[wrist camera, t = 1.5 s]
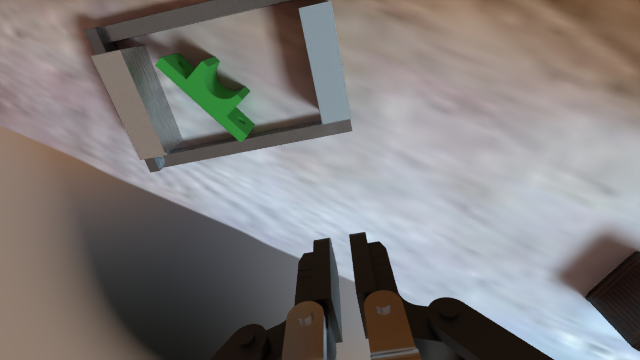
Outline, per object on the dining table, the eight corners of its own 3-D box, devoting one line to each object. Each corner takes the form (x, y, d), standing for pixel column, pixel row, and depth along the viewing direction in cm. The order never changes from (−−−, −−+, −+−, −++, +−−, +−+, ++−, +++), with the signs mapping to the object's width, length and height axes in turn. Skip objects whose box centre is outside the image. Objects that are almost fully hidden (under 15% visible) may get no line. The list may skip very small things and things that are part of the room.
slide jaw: (301, 9, 35) (298, 8, 30) (330, 2, 34) (331, 0, 30) (322, 112, 39) (322, 124, 35) (347, 107, 39) (351, 118, 35)
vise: (98, 29, 36) (66, 31, 31) (325, -25, 33) (325, -32, 29) (159, 164, 43) (139, 181, 38) (351, 127, 40) (354, 141, 36)
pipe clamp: (269, 109, 40) (264, 120, 36) (249, 130, 41) (241, 143, 37) (193, 34, 36) (176, 37, 32) (172, 59, 37) (154, 65, 33)
